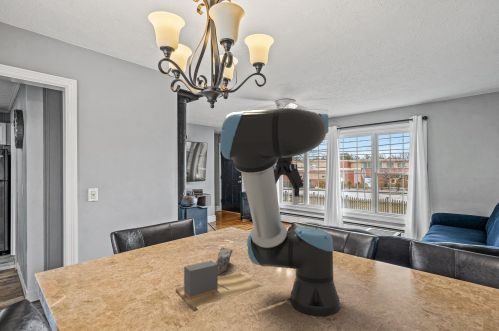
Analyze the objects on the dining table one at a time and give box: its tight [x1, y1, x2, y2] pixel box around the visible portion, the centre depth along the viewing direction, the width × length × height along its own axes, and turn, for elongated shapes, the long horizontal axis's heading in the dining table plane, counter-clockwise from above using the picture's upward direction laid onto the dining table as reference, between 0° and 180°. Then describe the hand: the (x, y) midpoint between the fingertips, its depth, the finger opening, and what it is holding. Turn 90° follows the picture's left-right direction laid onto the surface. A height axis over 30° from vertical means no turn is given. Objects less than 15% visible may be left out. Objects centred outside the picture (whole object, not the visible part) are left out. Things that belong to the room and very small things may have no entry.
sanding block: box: [183, 260, 219, 299], centre depth 88 cm, size 10×5×9 cm, turn 125°
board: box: [175, 271, 263, 311], centre depth 93 cm, size 16×26×1 cm, turn 125°
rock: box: [215, 247, 233, 275], centre depth 111 cm, size 16×8×10 cm, turn 165°
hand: (283, 203), depth 110 cm, fingers open, 13 cm apart
